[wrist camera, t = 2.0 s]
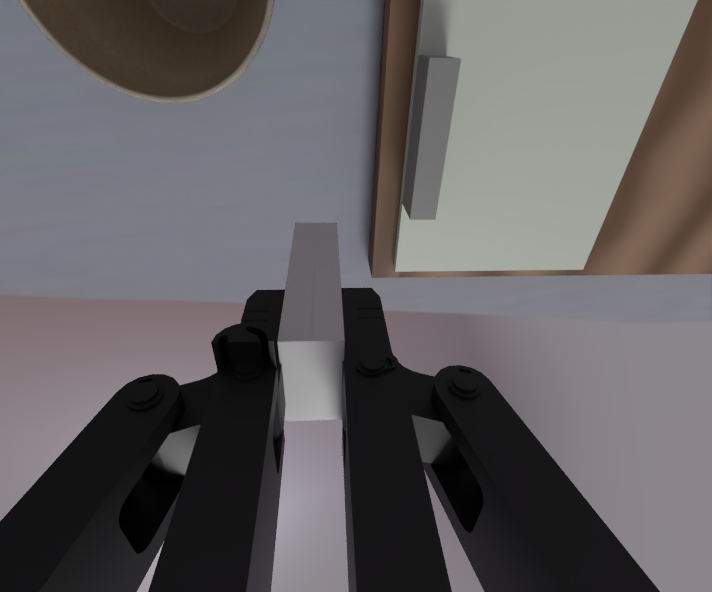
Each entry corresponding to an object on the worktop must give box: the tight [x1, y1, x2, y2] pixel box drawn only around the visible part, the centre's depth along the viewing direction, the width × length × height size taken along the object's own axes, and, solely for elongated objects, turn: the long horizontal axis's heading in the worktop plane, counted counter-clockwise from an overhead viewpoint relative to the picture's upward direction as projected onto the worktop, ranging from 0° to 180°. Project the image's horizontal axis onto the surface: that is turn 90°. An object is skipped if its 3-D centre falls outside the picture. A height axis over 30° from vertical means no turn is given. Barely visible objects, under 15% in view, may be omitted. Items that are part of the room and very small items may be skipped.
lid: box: [393, 0, 698, 272], centre depth 22 cm, size 14×18×3 cm
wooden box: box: [369, 0, 712, 278], centre depth 25 cm, size 31×20×2 cm, turn 88°
